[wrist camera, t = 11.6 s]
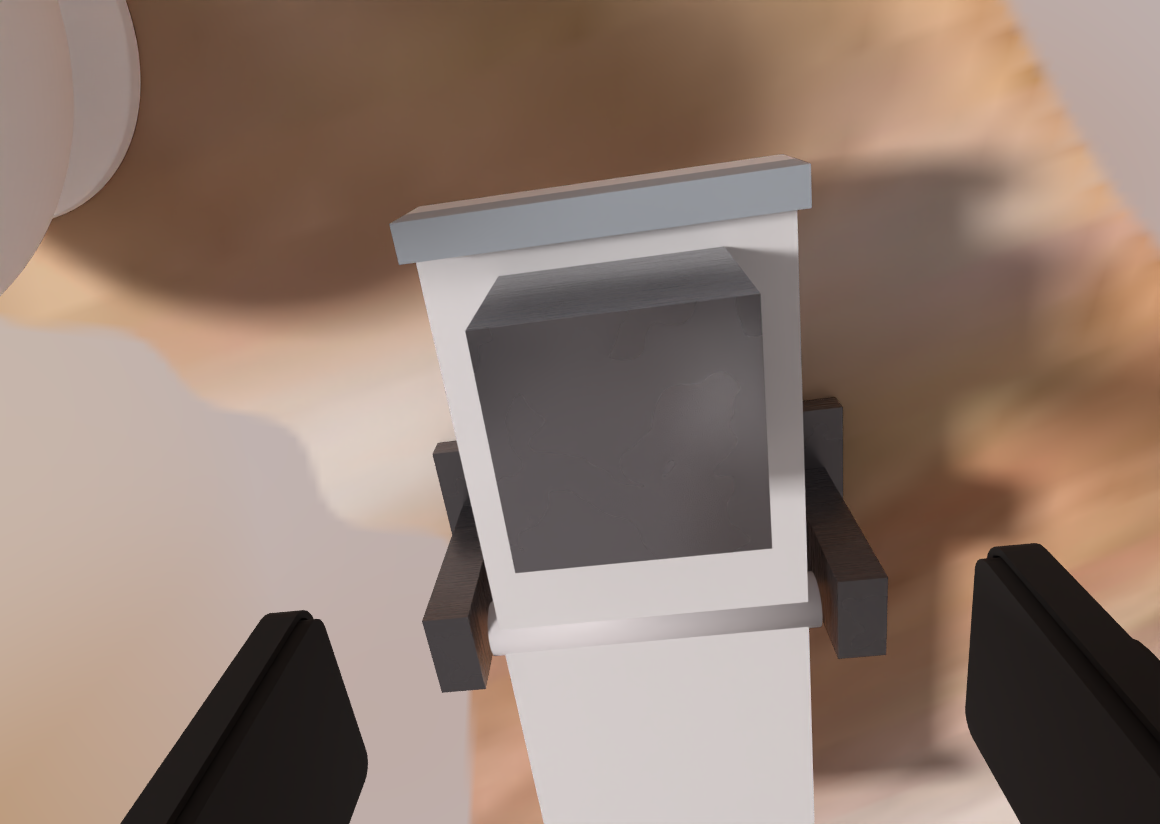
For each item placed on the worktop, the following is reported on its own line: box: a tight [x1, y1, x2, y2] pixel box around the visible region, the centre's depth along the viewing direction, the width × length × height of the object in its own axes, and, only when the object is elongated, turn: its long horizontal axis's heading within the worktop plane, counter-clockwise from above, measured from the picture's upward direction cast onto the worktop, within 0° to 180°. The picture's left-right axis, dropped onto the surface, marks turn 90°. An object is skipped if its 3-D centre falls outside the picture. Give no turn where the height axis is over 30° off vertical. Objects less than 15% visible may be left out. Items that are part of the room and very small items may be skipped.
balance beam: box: [389, 154, 823, 824], centre depth 24 cm, size 11×28×3 cm, turn 8°
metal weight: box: [465, 246, 772, 573], centre depth 18 cm, size 6×6×5 cm
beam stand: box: [422, 397, 888, 693], centre depth 28 cm, size 16×8×8 cm, turn 98°
